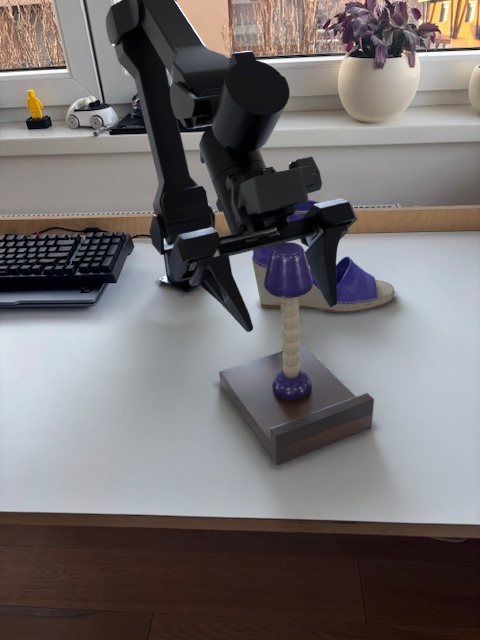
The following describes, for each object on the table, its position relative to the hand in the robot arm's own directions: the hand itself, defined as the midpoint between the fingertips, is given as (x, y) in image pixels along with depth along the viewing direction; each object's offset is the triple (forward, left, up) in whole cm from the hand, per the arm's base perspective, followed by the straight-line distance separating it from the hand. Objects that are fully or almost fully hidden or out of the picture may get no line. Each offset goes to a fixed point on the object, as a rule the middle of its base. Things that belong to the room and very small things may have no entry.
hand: (293, 318), depth 53 cm
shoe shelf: (-1, 0, -12) cm, 12 cm away
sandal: (-11, +21, -12) cm, 27 cm away
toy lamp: (-1, 0, -10) cm, 10 cm away
